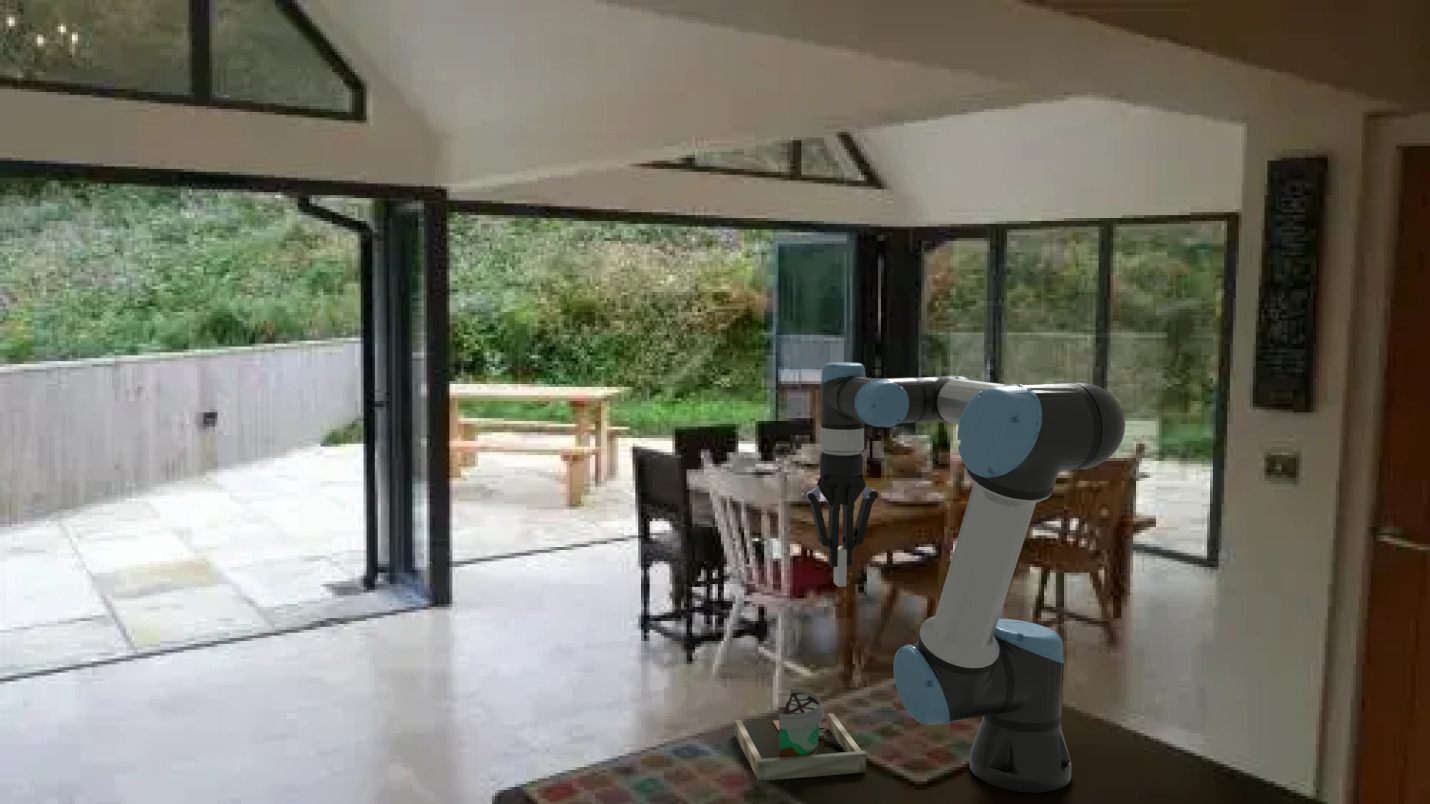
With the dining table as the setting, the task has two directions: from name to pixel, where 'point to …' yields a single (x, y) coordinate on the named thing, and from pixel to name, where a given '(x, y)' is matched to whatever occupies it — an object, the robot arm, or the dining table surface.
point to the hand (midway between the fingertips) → (839, 584)
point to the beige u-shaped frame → (805, 757)
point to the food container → (800, 724)
